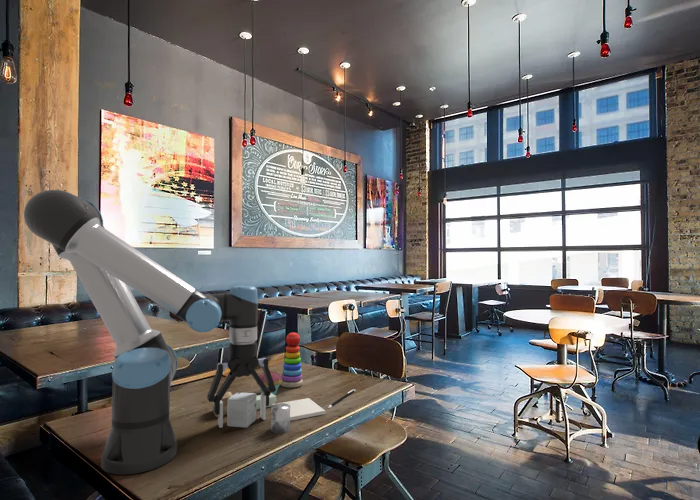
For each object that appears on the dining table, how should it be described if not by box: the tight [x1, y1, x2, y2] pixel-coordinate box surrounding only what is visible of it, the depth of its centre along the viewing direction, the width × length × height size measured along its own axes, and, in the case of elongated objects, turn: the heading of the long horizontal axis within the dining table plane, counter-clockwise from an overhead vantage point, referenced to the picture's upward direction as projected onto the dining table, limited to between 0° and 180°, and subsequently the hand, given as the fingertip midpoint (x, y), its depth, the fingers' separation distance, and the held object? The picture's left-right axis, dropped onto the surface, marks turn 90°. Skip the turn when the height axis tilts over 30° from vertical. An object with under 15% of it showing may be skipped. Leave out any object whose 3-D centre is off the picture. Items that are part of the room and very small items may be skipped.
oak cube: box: [212, 391, 233, 418], centre depth 118 cm, size 5×5×5 cm
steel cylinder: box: [270, 402, 291, 434], centre depth 107 cm, size 5×5×6 cm
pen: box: [327, 389, 356, 409], centre depth 131 cm, size 1×19×1 cm, turn 153°
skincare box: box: [226, 391, 257, 429], centre depth 111 cm, size 6×6×7 cm
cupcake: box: [258, 366, 282, 396], centre depth 135 cm, size 9×8×12 cm
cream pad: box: [272, 397, 326, 422], centre depth 120 cm, size 12×12×1 cm
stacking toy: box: [280, 332, 304, 389], centre depth 144 cm, size 8×8×19 cm
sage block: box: [256, 393, 277, 411], centre depth 124 cm, size 7×4×3 cm, turn 127°
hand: (242, 421), depth 111 cm, fingers open, 11 cm apart
